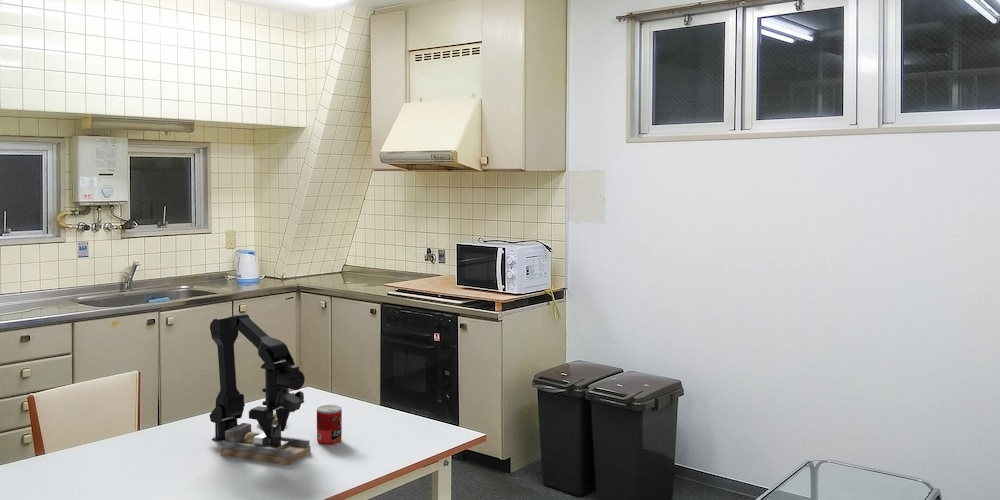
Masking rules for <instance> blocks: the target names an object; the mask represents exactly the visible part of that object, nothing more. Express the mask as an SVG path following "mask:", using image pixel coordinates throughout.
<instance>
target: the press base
mask: <svg viewBox="0 0 1000 500" xmlns="http://www.w3.org/2000/svg"><path fill="white" fill-rule="evenodd" d="M249 432H252V423H247V422H242V423H240V424H238V425H237V426H235V427H233V428H231V429H229V430H227V431H225V441H221V448H220V456H227V457H231V458H232V457H233V458H237V459H238V458H240V459H243V460H244V459H245V460H250V461H251V460H252V461H258V462H265V463H269V464H276V465H283V466H289V465H292V464H294V463H295V462H297V461H299V460H301V458H303V457H305V456H307V455H308V454H311V451H312V449H311V444H310V443H311V442H310V439H306V438H305V439H304V438H297V437H289V436H284V435H281V441H288V442H289V445H288V446H286V447H284V448H282V449H277V448H270V447H264V446H257V445H250V444H245V442H244V436H245V435H246V434H247V433H249ZM253 432H254V431H253ZM254 433H255V434H256V435H259V434H262V433H263V432H261V433H260V432H254Z"/></svg>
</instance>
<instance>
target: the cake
mask: <svg viewBox="0 0 1000 500" xmlns="http://www.w3.org/2000/svg"><path fill="white" fill-rule="evenodd" d="M272 417H276V418H275V419H274V420H273V421H272V425H273V424H278V420H277V415H276V411H275V412H274V411H273V416H272ZM286 425H287V423H286ZM256 427H257V428H258V429H261V430H263V429H262V428H261V426H260V424H259V423H257V424H256Z"/></svg>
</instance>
